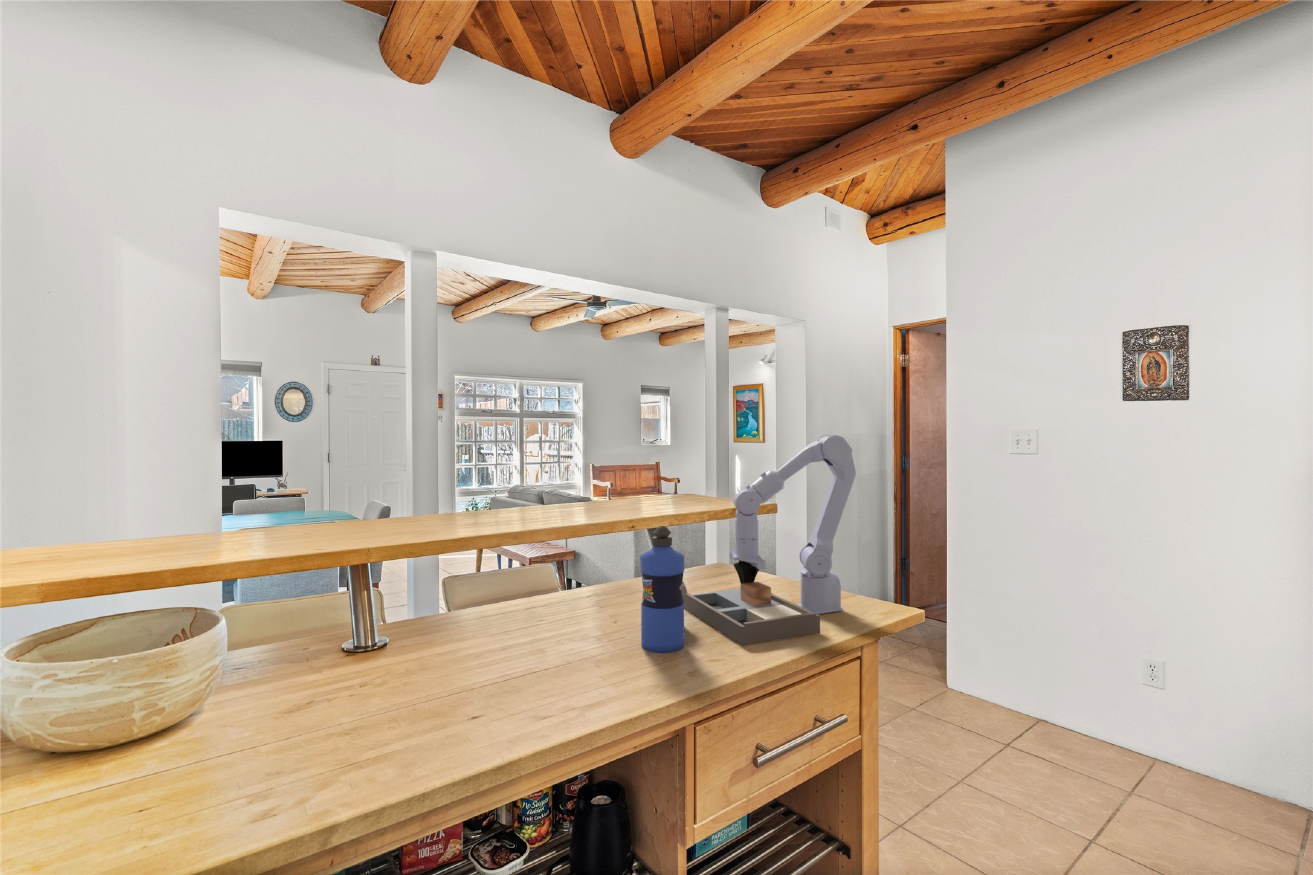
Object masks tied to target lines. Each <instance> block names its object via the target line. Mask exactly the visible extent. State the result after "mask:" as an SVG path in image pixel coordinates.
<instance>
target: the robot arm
mask: <svg viewBox="0 0 1313 875" xmlns="http://www.w3.org/2000/svg"><path fill="white" fill-rule="evenodd" d="M819 462H824V463H826V464H827V467H828V468H829V470H830V471H831V473H832V478H831V481H830V484H829V486H828V490H827V493H826V496H825V497H824V498H825V499H824V500H823V504H822V507H821V510H820V512H819V513H820V514H819V516H818V518H817V521H816V524H815V527H814V530H813V533H812V534H811V536H809V538H808V539H807V543H806V545H804V546H803V547H802V549H801V550H800V552H799V561H800V563H801V564H802V565H803V567H802V569H801V570H800V603H797V604H796V603H795V604H796V605H798V606H800V607H803V608H805V609H807V610H809V611H811V612H814V613H816V614H818V615H822V614H829V613H836V612H842V611H844V609H843V607H842V605H841V604H842V602H841V601H842V599H841V598H842V596H841V595H842V594H841V593H842V590H841V588H842V586H841V581H840V578H839V576H838V575H837V574H836V573H834V572H830V571H831V570H832V567H833V561H832V555H833V552H834V539H835V536H836V533H837V530H838V528H839V525H840V521H841V519H842V516H843V513H844V510H845V508H846V505H847V501H848V499H849V496H850V494H851V493H850V492H851V490H852V487H853V483H854V481H855V478H856V475H857V472H856V468H855V463H854V458H853V449H852V447H851V446H850V444H849V442H848V441H847V440H846V439H845V438H844V437H843V436H841V435H830V434H825V435H821V436H820V437H819V438H818V439H817V440H814V441H812V442H810V443H809V444H807V445H806V446H805V447H803V448H802V449H801V450H800V451H799V452H798V453H796V454H795V455H794V456H793V457H792V458H790V459H789V460H788V461H786V463H784V464H783V465H782V466H780V468H778V469H777V470H775V471H774V470H768V471H766V472H765V471H762V472H761V473H760V474H759V475H760V477H759V478H757V479H756V480H754V481H752V483H750V485H749V484H747V485H745V488H746V489H743V490H740V491H738V492H737V494H736V495H735V497H734V500H733V504H734V507H735V509H736V510H735V525H734V526H735V530H734V531H735V535H734V536H735V549H732V550H729V558H730V559H732V560H733V561H734V560H735V561H738V562H735V563H733V567H734V569H735V570H736V574H737V575H738V578H739V583H740V585H741V584H742V583H751V582H756V581H755V580H756V577H757V575H758V573H759V571H760V570H764V569H765V570H766V569H767V565H766V564H767V562H766V560H765V559H763V558H762V557H761V556H760V555H759V520H758V511H759V510H760V507H761V504H762V505H763V504H765V503H767V501H769V500H770V499H771V498H773V497H774V496H776V494H778V493H779V492H781V491H782V490H783V489H784V484H785V482H786V481H787V480H788V479H789V478H791V477H792V476H794V475H795V474H797V473H798V472H799V471H801V470H802V469H803V468H805V467H807V465H809V464H811V463H819Z"/></svg>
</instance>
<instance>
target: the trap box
mask: <svg viewBox="0 0 1313 875" xmlns="http://www.w3.org/2000/svg"><path fill="white" fill-rule="evenodd" d="M684 610H686V611H687V612H688V613H691V614H692V615H694V616H695V617H696V618H698V619H700V620H701V621H702V622H704V623H705V624H707V625H708V626H710V627H712V628H714V629H715V630H717V631H718V632H719V633H721V634H723V635H724V636H726V637H727V638H729V639H730V640H732V641H733V642H735V643H736V644H738V645H740V646H741V647H745V646H750V645H755V644H763V643H768V642H774V641H780V640H787V639H792V638H793V639H794V638H801V637H806V636H812V635H818V634H819V635H820V634H821V614H816V613H814V612H811V611H809V610H807V609H805V608H803V607H800V606H798V605H796V603H794V602H791V601H789V600H787V599H785V598H782V597H780V596H778V595H776V594H773V593H771V604H765V605H758V606H752V605H750V604H748V603H746V602H744V601H742V600H741V588H736V589H735V588H734V589H726V590H720V591H719V590H718V591H717V590H716V591H711V592H710V591H708V592H702V593H695V594H694V593H693V594H691V593H689V592H688V591H687V594H686V595H685V596H684Z"/></svg>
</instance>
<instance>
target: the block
mask: <svg viewBox="0 0 1313 875" xmlns="http://www.w3.org/2000/svg"><path fill="white" fill-rule="evenodd" d="M740 589H741V600H742V601H744V602H746V603H748V604H750V605H752V606H758V605H765V604H771V594H772V587H771V586H769V585H766V584H764V583H762V582H759V581H754V582H751V583H742V584H741V583H740Z"/></svg>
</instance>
